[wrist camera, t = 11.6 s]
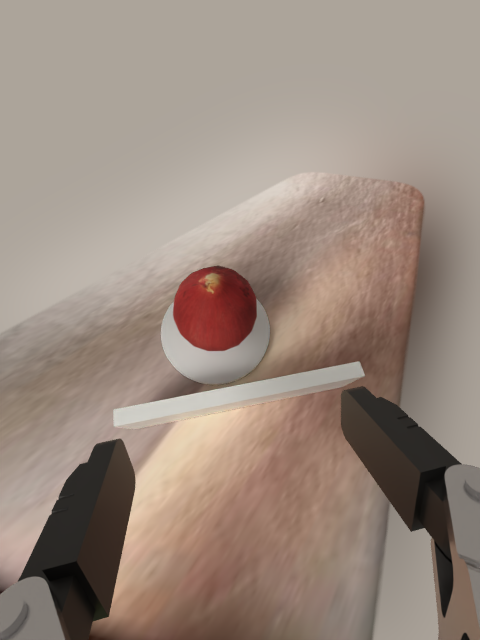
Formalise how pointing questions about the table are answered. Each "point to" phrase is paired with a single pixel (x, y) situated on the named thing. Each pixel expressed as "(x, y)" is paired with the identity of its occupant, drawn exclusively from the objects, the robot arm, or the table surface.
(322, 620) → the table surface
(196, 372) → the coaster
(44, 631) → the robot arm
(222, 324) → the onion
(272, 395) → the divider
